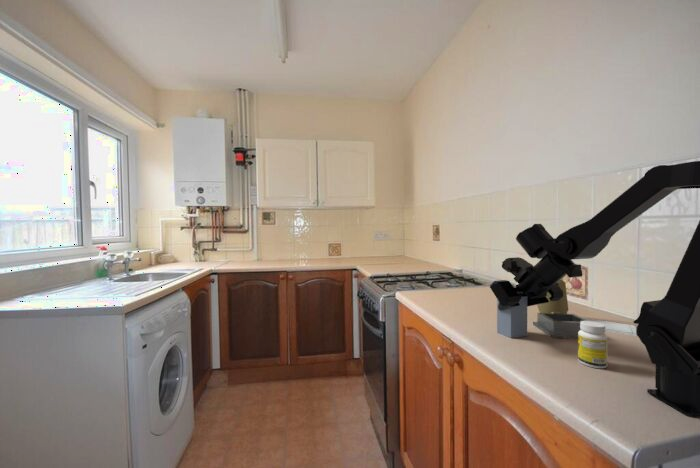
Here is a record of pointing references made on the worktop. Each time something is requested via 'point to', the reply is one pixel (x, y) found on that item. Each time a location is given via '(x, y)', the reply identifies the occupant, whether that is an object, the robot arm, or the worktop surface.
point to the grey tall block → (513, 319)
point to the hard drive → (617, 327)
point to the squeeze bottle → (555, 302)
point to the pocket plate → (559, 324)
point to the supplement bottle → (592, 344)
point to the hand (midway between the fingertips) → (507, 308)
